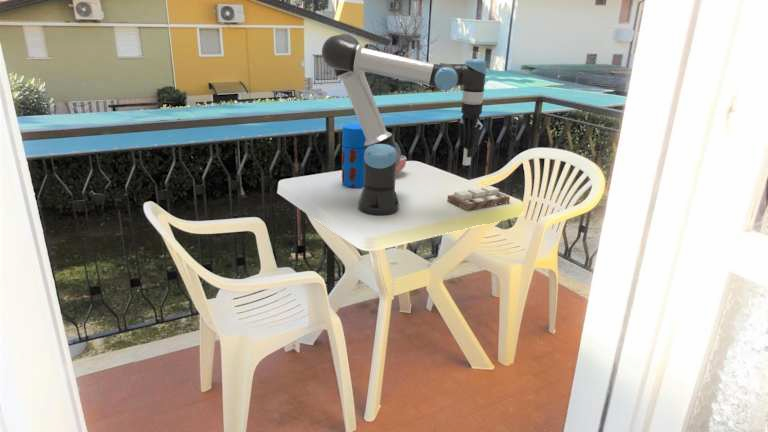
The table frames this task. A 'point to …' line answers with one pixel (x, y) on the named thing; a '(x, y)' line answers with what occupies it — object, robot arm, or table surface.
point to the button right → (490, 190)
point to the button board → (478, 201)
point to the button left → (463, 195)
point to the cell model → (401, 164)
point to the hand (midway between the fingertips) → (466, 164)
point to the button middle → (477, 192)
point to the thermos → (353, 156)
